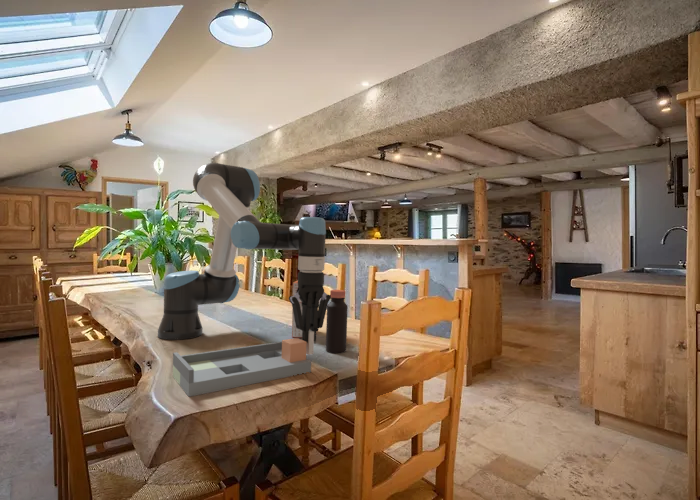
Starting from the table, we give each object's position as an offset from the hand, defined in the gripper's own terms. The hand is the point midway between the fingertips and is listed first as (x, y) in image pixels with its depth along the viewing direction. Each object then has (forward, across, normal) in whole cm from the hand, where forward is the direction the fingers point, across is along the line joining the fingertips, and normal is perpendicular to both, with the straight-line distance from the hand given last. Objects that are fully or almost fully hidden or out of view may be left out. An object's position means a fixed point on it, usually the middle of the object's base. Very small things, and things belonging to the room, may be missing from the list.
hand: (308, 353), depth 111 cm
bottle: (+4, +16, +9) cm, 19 cm away
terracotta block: (+1, -5, 0) cm, 5 cm away
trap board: (+4, -18, +4) cm, 19 cm away
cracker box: (+4, +18, +35) cm, 40 cm away
